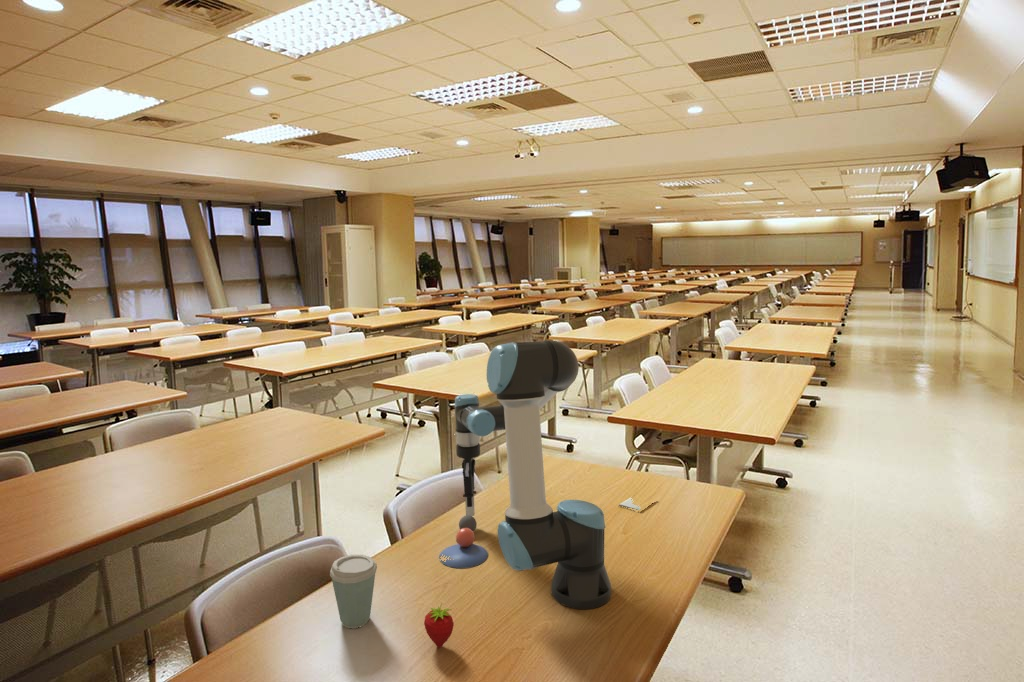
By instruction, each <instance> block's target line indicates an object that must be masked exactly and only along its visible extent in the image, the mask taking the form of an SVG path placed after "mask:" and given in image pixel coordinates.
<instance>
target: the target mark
mask: <svg viewBox="0 0 1024 682" xmlns="http://www.w3.org/2000/svg"><path fill="white" fill-rule="evenodd" d="M442 554H443V556H444V555H445V557H446V556H447V558H448V557H449V556H450V557H449V560H448V559H447V558H446V559H447V560H446V562H444V561H445V560H444V561H442V560H441V561H440V563H441V562H442V563H443V564H442V563H441V564H442V565H444V564H445V565H444V566H446V567H448V566H449V567H450V568H453V569H470V568H474V567H476V566H478V565H481V564H483V563H484V562H485V561H486V560H487V559H488V557H489V555H488V554H489V553H488V551H487V549H486V548H485V547H483V546H481V545H479V544H476V543H473V544H472V545H471V546H469V547H461V546H460V545H459V544H458V543H457V544H453V545H450V546H448V547H446V548H444V549H443V550H442V551H441V552H440V553H439V556H438V559H441V558H440V557H441V556H442ZM443 556H442V557H443ZM445 557H444V558H445ZM450 559H451V560H450ZM453 559H454V560H453ZM449 567H448V568H449Z"/></svg>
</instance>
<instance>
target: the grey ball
mask: <svg viewBox="0 0 1024 682" xmlns="http://www.w3.org/2000/svg"><path fill="white" fill-rule="evenodd" d="M458 526H459V530H460V529H462V528H469V529H471V530H472V531H473V532H475V531H476V528H477V520H476V518H475V516H470V515H466V514H465V515H463V516H462V517H461V518H460V520H459V523H458Z"/></svg>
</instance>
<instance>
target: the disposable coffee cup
mask: <svg viewBox="0 0 1024 682" xmlns="http://www.w3.org/2000/svg"><path fill="white" fill-rule="evenodd" d="M377 565H378V564H377V562H376V561H375V560H374V558H372V557H370V556H369V555H364V554H349V555H344V556H341V557H339V558H338V559H335V560H334V561H333V563H332V564H331V568H330V571H329V576H330V578H331V582H332V586H333V591H334V596H335V602H336V605H337V610H338V615H339V620H340V622H341V624H342V626H343V627H344V628H347V629H350V628H352V629H359V628H361V627H360V626H362V627H364V626H365V625H366V624H368V623H369V620H370V618H371V611H372V605H373V604H372V603H373V596H374V587H375V579H376V572H377V569H378V566H377ZM363 625H364V626H363ZM358 627H359V628H358Z"/></svg>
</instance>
